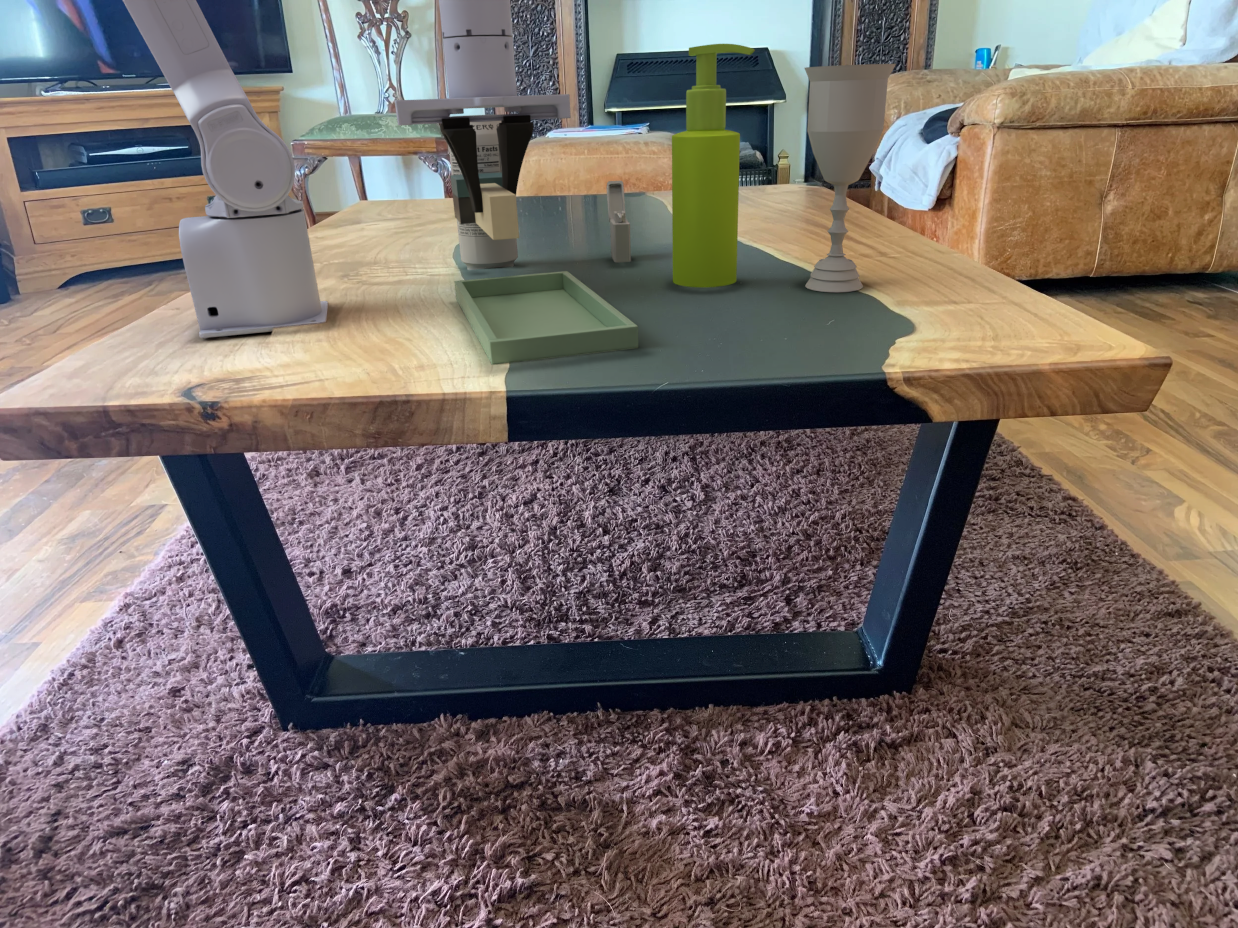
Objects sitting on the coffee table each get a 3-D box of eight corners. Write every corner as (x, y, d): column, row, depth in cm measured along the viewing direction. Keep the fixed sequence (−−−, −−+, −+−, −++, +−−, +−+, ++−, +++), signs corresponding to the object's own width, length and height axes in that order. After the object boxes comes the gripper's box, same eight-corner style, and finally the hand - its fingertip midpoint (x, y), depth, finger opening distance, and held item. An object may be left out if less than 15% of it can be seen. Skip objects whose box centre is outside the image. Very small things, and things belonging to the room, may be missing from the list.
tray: (639, 354, 58) (638, 326, 57) (492, 371, 55) (489, 342, 54) (568, 292, 76) (567, 270, 75) (456, 303, 74) (454, 281, 73)
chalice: (868, 278, 78) (887, 65, 71) (882, 294, 72) (904, 63, 64) (789, 278, 79) (800, 68, 71) (796, 295, 73) (808, 66, 65)
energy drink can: (527, 263, 91) (516, 114, 84) (504, 274, 85) (491, 115, 79) (477, 262, 92) (462, 115, 86) (451, 272, 87) (434, 117, 81)
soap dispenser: (745, 292, 74) (752, 41, 66) (668, 292, 75) (666, 45, 67) (749, 279, 79) (756, 44, 71) (677, 278, 80) (676, 48, 72)
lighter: (631, 266, 87) (629, 186, 84) (614, 267, 87) (612, 186, 84) (624, 254, 94) (621, 179, 90) (608, 255, 93) (606, 180, 90)
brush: (535, 237, 70) (532, 187, 68) (476, 241, 69) (471, 191, 67) (504, 214, 84) (501, 172, 82) (454, 217, 83) (450, 175, 81)
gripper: (389, 37, 63) (413, 222, 68) (575, 33, 67) (583, 209, 72) (385, 42, 69) (408, 212, 75) (556, 39, 73) (565, 201, 78)
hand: (493, 210), depth 74 cm, fingers closed on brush, 2 cm apart
